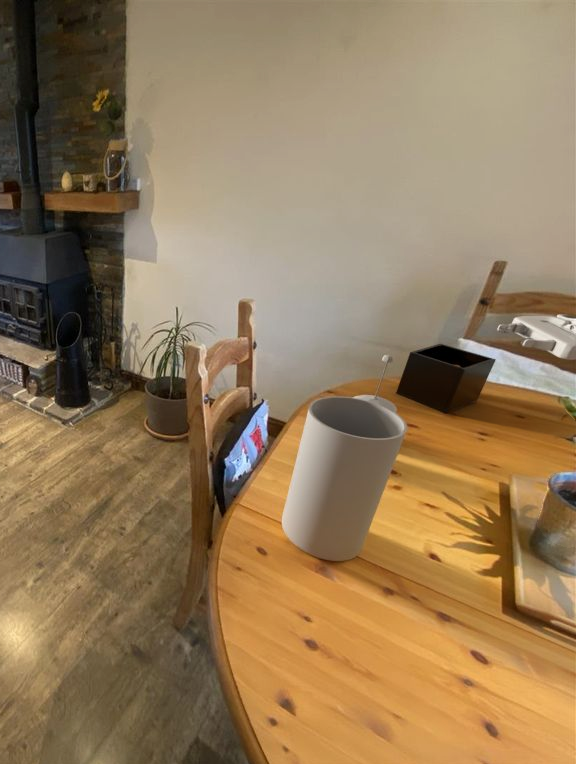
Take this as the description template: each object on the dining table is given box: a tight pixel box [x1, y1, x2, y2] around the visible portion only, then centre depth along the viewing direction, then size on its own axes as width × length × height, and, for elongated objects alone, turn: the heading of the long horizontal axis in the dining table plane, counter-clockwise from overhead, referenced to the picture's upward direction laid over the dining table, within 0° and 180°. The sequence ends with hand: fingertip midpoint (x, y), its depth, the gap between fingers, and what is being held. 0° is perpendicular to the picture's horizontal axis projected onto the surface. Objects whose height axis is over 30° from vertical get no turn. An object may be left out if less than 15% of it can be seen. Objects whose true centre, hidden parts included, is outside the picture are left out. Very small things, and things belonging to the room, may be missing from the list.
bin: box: [395, 343, 497, 415], centre depth 110 cm, size 12×12×13 cm
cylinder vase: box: [281, 395, 408, 562], centre depth 69 cm, size 12×12×25 cm
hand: (510, 335), depth 101 cm, fingers open, 8 cm apart
